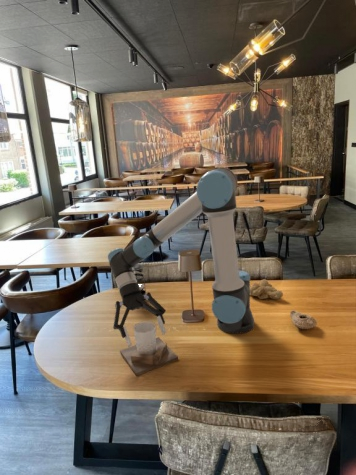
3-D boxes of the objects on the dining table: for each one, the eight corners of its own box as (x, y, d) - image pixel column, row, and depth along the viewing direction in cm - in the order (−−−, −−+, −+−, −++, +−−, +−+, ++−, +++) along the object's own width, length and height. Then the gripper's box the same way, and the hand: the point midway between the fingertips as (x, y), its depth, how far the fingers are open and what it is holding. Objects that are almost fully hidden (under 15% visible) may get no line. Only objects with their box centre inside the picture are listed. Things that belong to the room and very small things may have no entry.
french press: (147, 302, 166) (143, 257, 160) (128, 304, 164) (123, 259, 158) (145, 292, 177) (141, 250, 171) (127, 294, 176) (122, 252, 170)
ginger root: (242, 287, 174) (246, 273, 171) (272, 293, 174) (277, 278, 172) (247, 302, 159) (251, 286, 156) (280, 308, 159) (285, 293, 157)
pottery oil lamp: (299, 315, 145) (308, 303, 142) (312, 338, 135) (322, 326, 132) (282, 312, 143) (291, 300, 139) (294, 335, 133) (304, 322, 129)
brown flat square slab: (120, 352, 127) (119, 344, 126) (158, 339, 134) (158, 331, 133) (136, 375, 114) (135, 367, 113) (178, 359, 121) (177, 351, 120)
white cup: (155, 357, 121) (153, 332, 118) (133, 357, 122) (131, 332, 119) (158, 344, 128) (156, 321, 126) (138, 344, 129) (135, 321, 126)
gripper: (155, 282, 139) (175, 332, 130) (95, 298, 127) (112, 353, 119) (160, 274, 133) (181, 325, 124) (97, 290, 121) (116, 347, 113)
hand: (147, 339), depth 121 cm, fingers open, 13 cm apart
